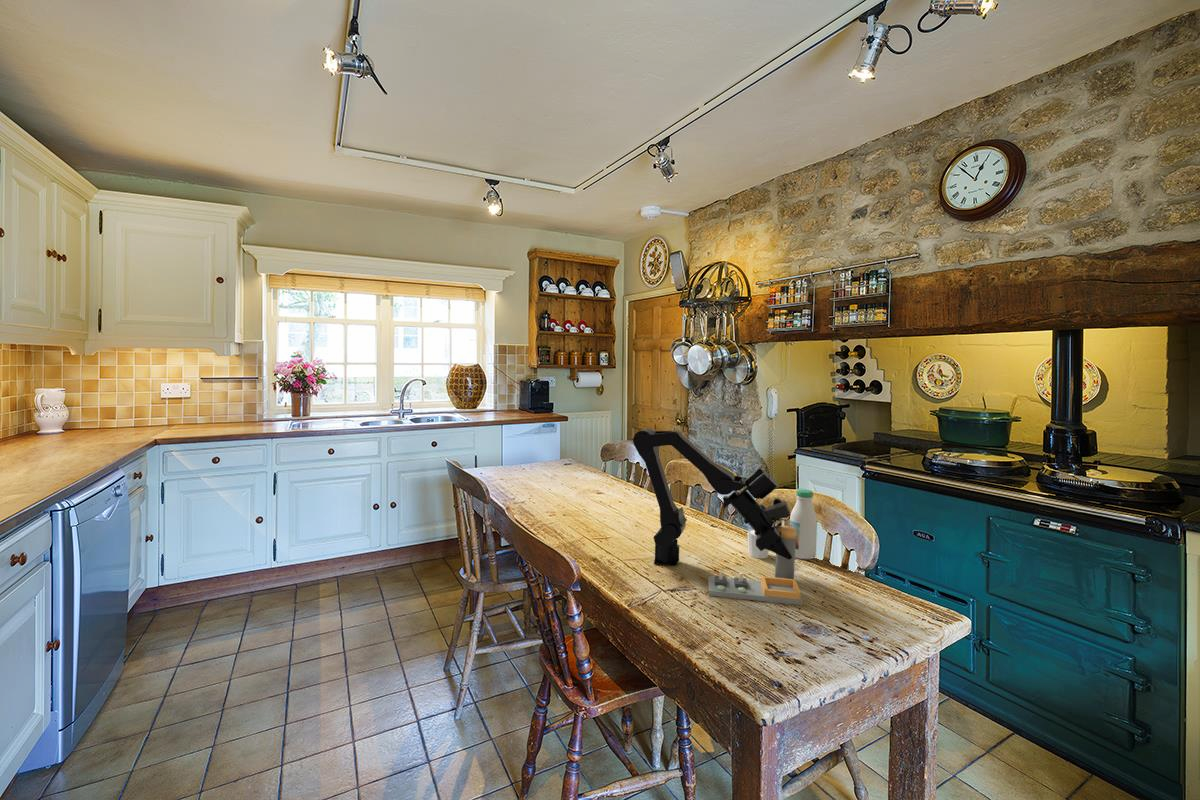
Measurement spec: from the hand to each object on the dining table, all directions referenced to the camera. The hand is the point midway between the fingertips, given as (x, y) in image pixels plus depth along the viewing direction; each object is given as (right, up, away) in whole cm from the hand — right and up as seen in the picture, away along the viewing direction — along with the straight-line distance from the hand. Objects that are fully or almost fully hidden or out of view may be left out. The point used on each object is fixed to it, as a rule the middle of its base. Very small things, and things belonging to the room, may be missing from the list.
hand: (790, 555), depth 136 cm
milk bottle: (+10, -6, +19) cm, 22 cm away
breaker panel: (-12, -7, -7) cm, 16 cm away
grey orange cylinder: (-1, -7, +1) cm, 7 cm away
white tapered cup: (-3, -6, +19) cm, 20 cm away
